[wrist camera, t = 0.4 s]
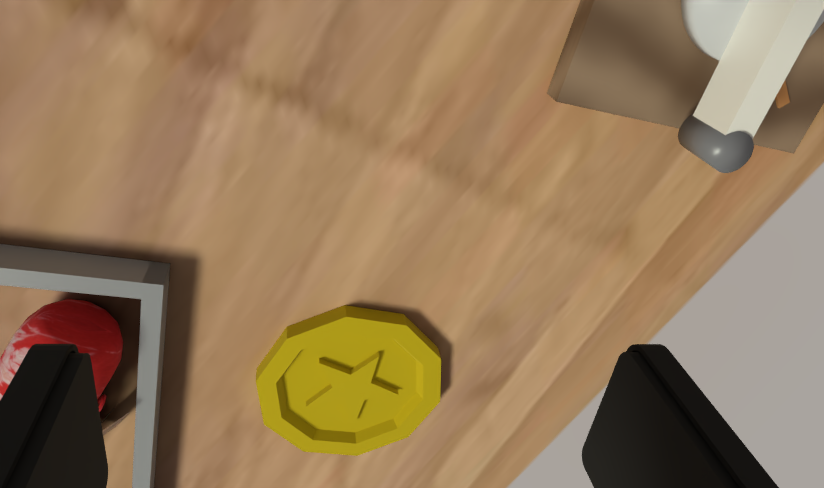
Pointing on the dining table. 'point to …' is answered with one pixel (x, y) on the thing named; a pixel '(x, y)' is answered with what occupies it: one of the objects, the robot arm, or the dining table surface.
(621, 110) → the dial plate
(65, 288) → the tray
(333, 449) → the decorative disc
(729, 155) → the dial
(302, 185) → the dining table surface
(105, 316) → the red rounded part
